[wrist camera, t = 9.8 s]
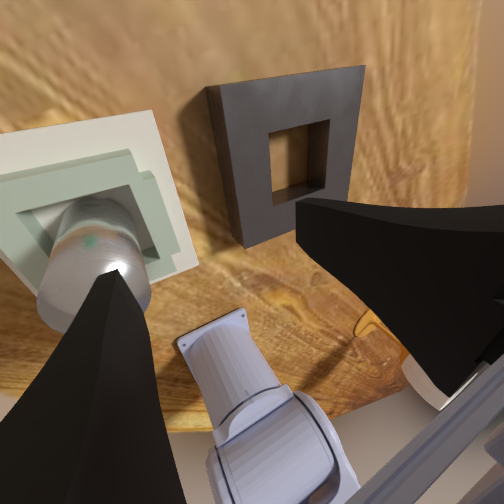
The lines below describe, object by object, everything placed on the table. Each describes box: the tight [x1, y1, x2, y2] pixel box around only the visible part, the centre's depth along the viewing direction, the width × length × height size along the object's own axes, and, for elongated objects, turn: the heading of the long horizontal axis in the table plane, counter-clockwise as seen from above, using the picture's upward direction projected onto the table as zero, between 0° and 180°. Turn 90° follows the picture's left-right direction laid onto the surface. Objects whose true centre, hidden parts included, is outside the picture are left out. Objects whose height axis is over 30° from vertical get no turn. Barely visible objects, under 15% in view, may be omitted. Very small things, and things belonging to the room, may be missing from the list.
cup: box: [354, 309, 477, 410], centre depth 43 cm, size 9×9×16 cm
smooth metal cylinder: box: [36, 196, 151, 334], centre depth 13 cm, size 4×4×8 cm
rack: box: [0, 110, 199, 297], centre depth 16 cm, size 12×11×2 cm
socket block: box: [205, 65, 366, 249], centre depth 20 cm, size 12×12×2 cm
